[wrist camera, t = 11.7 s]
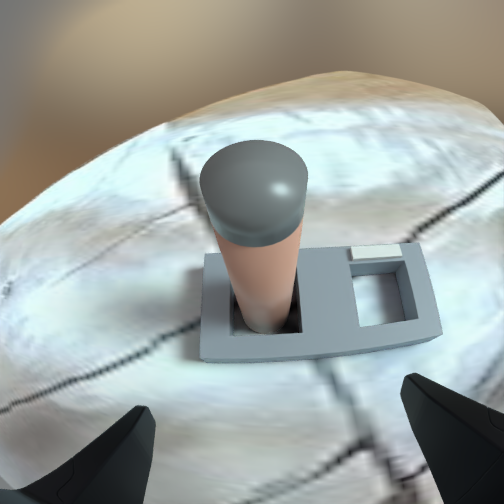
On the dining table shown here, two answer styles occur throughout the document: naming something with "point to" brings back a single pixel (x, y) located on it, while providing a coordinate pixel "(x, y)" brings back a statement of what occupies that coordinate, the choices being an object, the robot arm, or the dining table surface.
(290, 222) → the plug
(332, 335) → the socket plate
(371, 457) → the dining table surface
